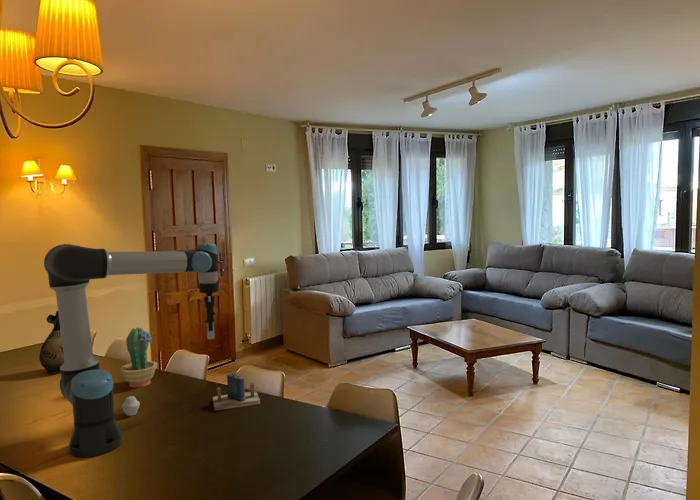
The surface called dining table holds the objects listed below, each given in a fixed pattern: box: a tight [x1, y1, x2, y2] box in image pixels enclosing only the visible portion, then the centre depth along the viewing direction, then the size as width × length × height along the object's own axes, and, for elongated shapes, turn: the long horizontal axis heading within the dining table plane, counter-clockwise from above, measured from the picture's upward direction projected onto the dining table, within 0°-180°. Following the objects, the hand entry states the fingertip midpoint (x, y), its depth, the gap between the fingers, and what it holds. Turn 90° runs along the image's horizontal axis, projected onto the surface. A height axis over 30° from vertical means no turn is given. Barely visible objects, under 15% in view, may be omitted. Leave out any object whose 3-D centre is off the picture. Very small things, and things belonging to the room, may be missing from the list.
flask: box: [226, 371, 246, 401], centre depth 192 cm, size 9×3×11 cm, turn 52°
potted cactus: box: [119, 327, 158, 388], centre depth 217 cm, size 15×15×25 cm
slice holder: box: [212, 382, 261, 412], centre depth 192 cm, size 11×17×6 cm, turn 108°
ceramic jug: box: [38, 310, 65, 375], centre depth 239 cm, size 17×15×30 cm
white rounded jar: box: [121, 395, 141, 417], centre depth 183 cm, size 6×6×7 cm
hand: (210, 335), depth 197 cm, fingers open, 13 cm apart
